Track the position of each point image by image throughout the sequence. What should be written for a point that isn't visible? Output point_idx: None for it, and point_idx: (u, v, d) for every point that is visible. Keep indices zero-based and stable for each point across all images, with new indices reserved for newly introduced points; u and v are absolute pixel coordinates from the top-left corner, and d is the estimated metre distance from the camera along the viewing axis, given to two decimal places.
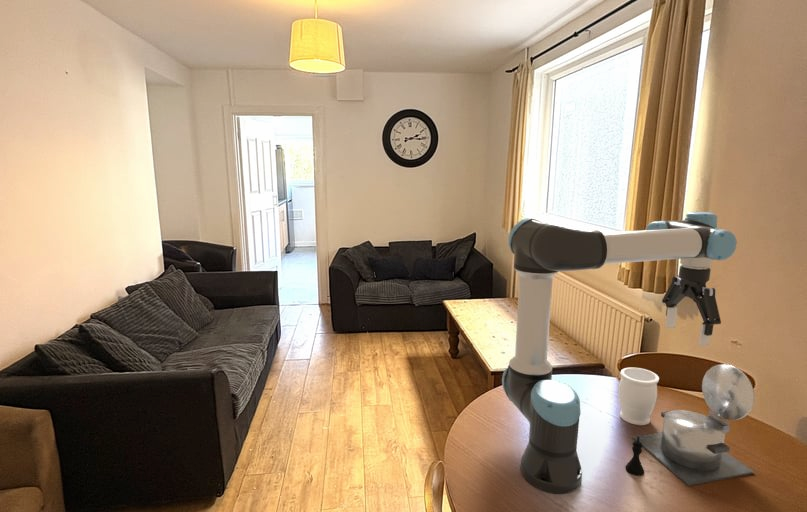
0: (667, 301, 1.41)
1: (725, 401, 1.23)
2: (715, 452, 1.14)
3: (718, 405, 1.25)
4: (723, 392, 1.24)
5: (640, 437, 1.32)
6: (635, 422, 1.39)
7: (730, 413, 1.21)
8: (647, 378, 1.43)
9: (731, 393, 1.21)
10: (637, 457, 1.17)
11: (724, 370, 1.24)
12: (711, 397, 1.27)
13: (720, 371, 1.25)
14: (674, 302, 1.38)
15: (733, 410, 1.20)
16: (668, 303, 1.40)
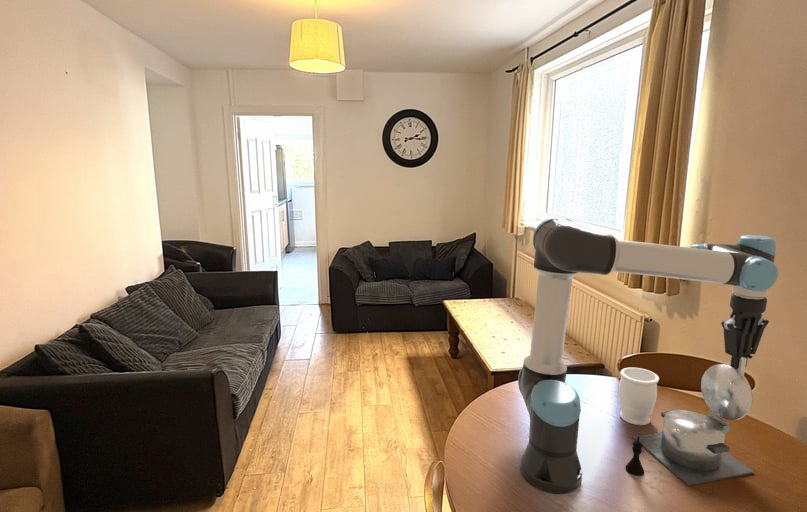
0: None
1: (724, 401, 1.23)
2: (715, 452, 1.14)
3: (717, 405, 1.24)
4: (722, 392, 1.23)
5: (640, 437, 1.32)
6: (635, 422, 1.39)
7: (729, 413, 1.21)
8: (647, 378, 1.43)
9: (729, 393, 1.21)
10: (637, 457, 1.17)
11: (722, 370, 1.24)
12: (710, 397, 1.27)
13: (718, 371, 1.25)
14: None
15: (732, 410, 1.20)
16: None
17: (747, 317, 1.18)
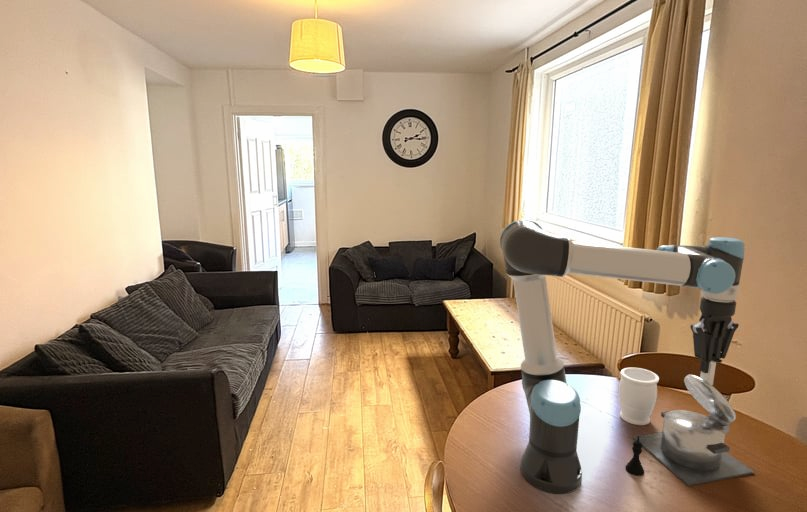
0: None
1: (713, 406, 1.22)
2: (715, 452, 1.14)
3: (710, 409, 1.24)
4: (706, 399, 1.23)
5: (640, 437, 1.32)
6: (635, 422, 1.39)
7: (723, 417, 1.21)
8: (647, 378, 1.43)
9: (712, 401, 1.20)
10: (637, 457, 1.17)
11: (695, 382, 1.22)
12: (701, 401, 1.26)
13: (692, 382, 1.24)
14: None
15: (723, 415, 1.20)
16: None
17: (716, 320, 1.16)
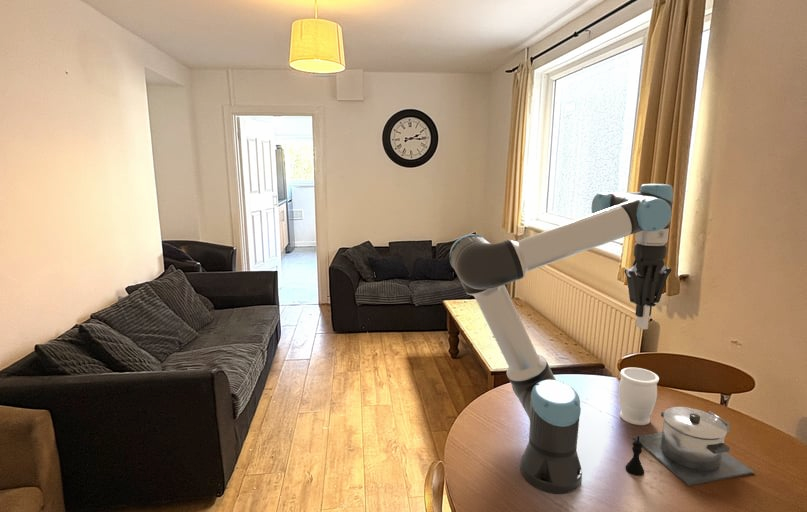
0: (648, 298, 1.24)
1: None
2: (715, 452, 1.14)
3: None
4: None
5: (640, 437, 1.32)
6: (635, 422, 1.39)
7: None
8: (647, 378, 1.43)
9: None
10: (637, 457, 1.17)
11: None
12: None
13: None
14: (646, 294, 1.23)
15: None
16: None
17: (649, 265, 1.20)
